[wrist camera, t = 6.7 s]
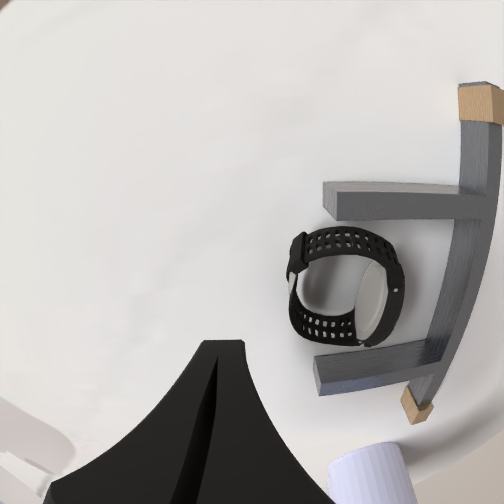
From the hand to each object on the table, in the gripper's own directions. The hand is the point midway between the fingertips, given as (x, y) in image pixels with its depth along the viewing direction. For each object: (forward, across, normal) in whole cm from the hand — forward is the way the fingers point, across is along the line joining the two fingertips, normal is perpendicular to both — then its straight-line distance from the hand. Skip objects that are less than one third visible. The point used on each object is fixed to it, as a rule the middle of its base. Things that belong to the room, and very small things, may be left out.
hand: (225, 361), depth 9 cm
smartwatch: (+3, -3, +1) cm, 5 cm away
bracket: (+4, -8, 0) cm, 9 cm away
